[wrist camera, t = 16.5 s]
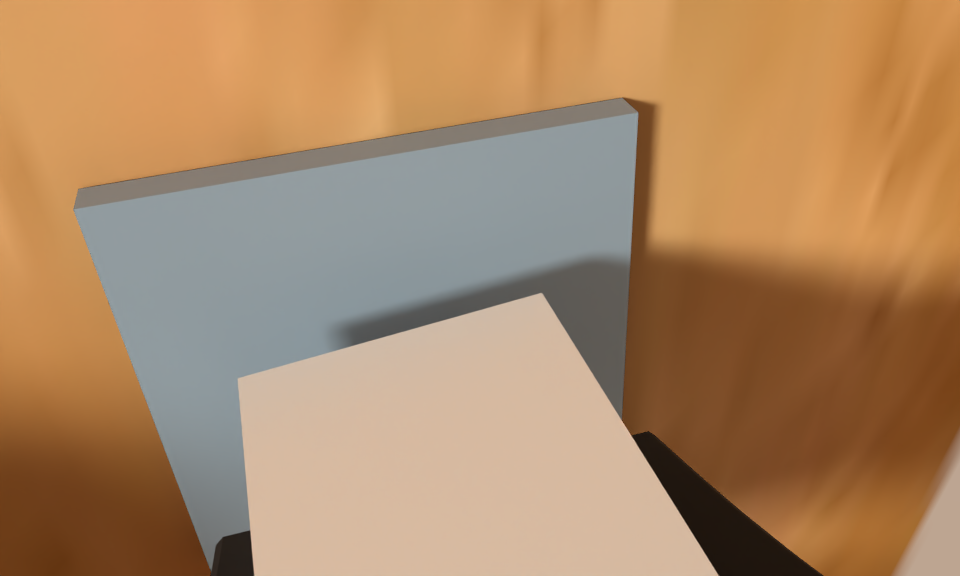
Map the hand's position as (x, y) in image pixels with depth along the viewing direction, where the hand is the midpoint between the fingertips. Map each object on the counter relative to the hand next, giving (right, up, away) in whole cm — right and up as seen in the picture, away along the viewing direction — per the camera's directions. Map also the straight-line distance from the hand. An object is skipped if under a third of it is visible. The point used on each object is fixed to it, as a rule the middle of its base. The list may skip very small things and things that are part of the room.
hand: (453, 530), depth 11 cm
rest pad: (-1, +2, +3) cm, 4 cm away
